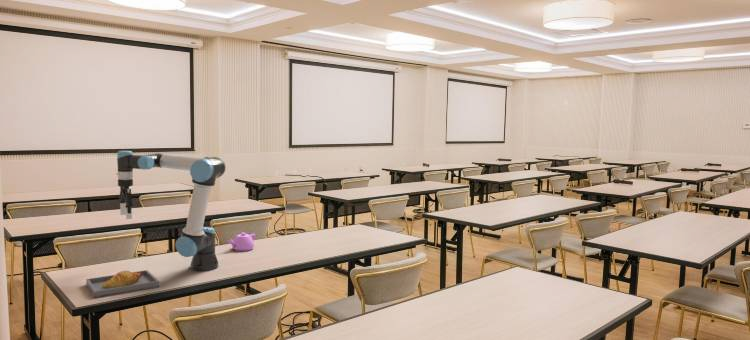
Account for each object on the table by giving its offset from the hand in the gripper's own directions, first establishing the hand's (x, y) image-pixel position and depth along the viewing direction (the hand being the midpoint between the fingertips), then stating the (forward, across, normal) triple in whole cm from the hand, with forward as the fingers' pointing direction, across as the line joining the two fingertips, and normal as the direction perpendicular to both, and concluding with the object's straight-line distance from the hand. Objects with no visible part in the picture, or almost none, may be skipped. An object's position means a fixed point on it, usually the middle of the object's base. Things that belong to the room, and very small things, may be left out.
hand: (126, 216), depth 289 cm
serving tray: (+29, +32, -9) cm, 44 cm away
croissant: (+28, +32, -9) cm, 43 cm away
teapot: (+29, -4, +70) cm, 76 cm away
